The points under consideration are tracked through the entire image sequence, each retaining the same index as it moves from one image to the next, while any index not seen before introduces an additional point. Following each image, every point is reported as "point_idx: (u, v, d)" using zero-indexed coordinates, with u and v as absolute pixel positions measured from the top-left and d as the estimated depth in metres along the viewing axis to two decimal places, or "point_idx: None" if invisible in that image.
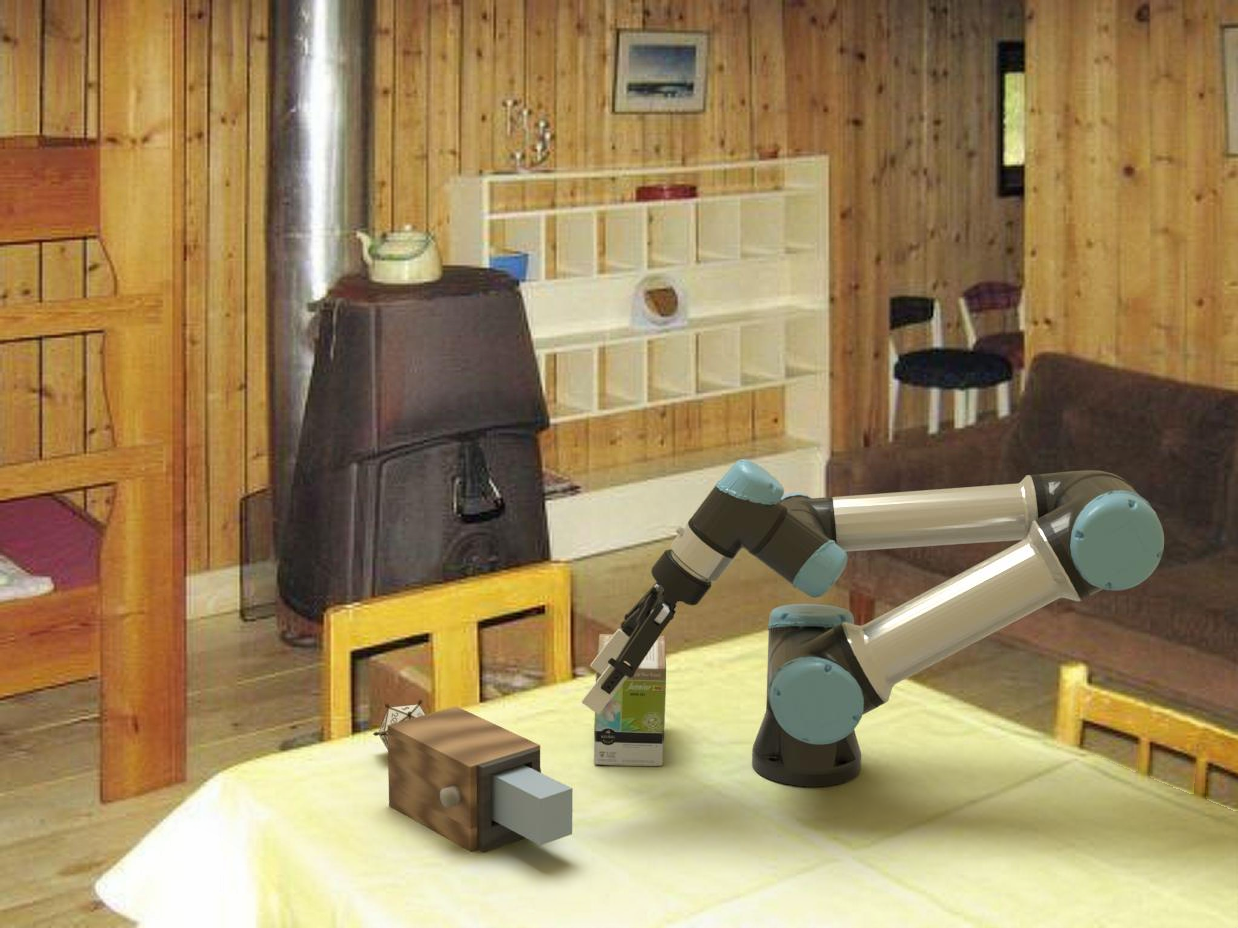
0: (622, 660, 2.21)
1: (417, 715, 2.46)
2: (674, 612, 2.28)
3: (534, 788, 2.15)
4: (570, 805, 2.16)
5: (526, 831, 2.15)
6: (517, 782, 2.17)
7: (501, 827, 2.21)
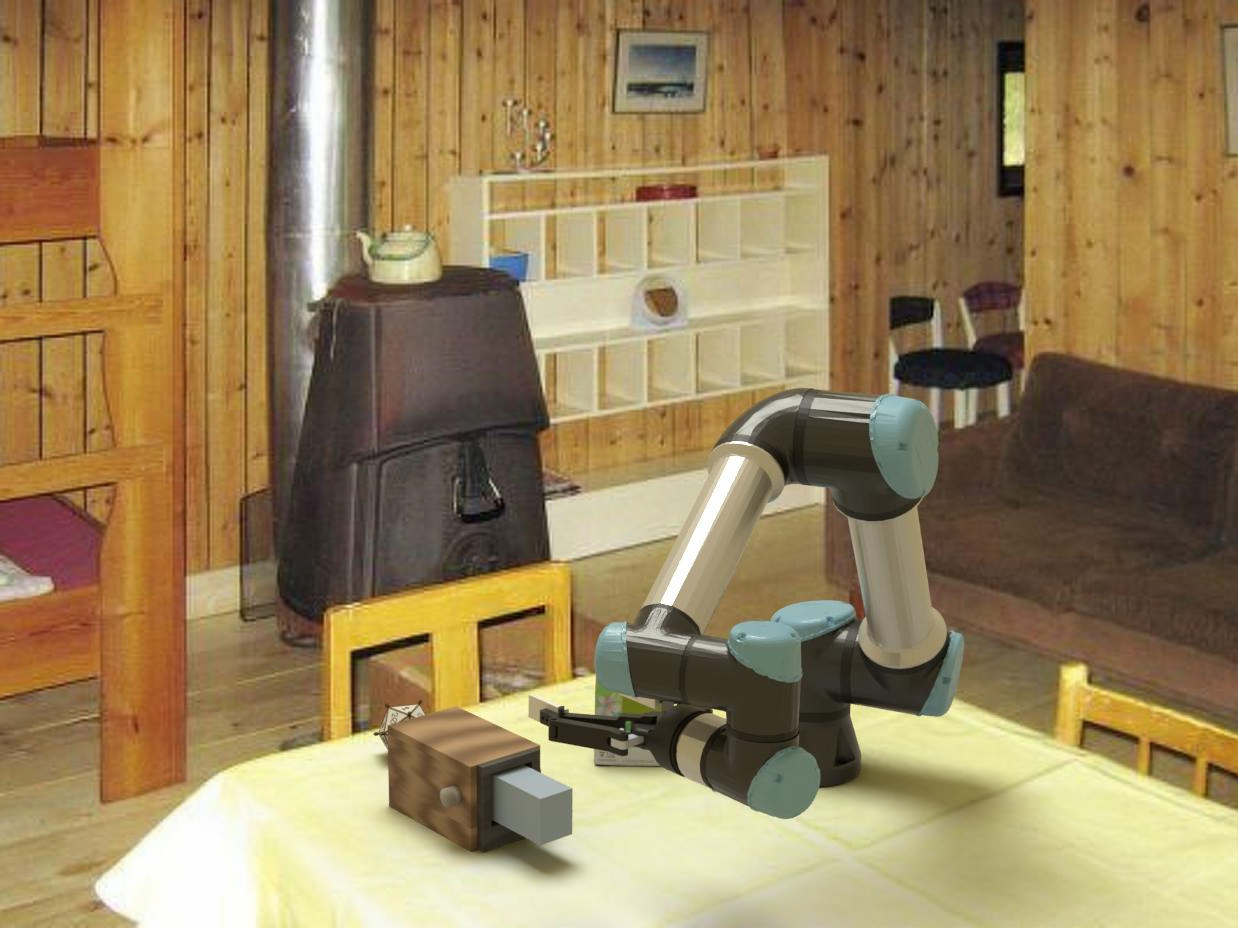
0: None
1: (417, 715, 2.46)
2: None
3: (534, 788, 2.15)
4: (570, 805, 2.16)
5: (526, 831, 2.15)
6: (517, 782, 2.17)
7: (501, 827, 2.21)
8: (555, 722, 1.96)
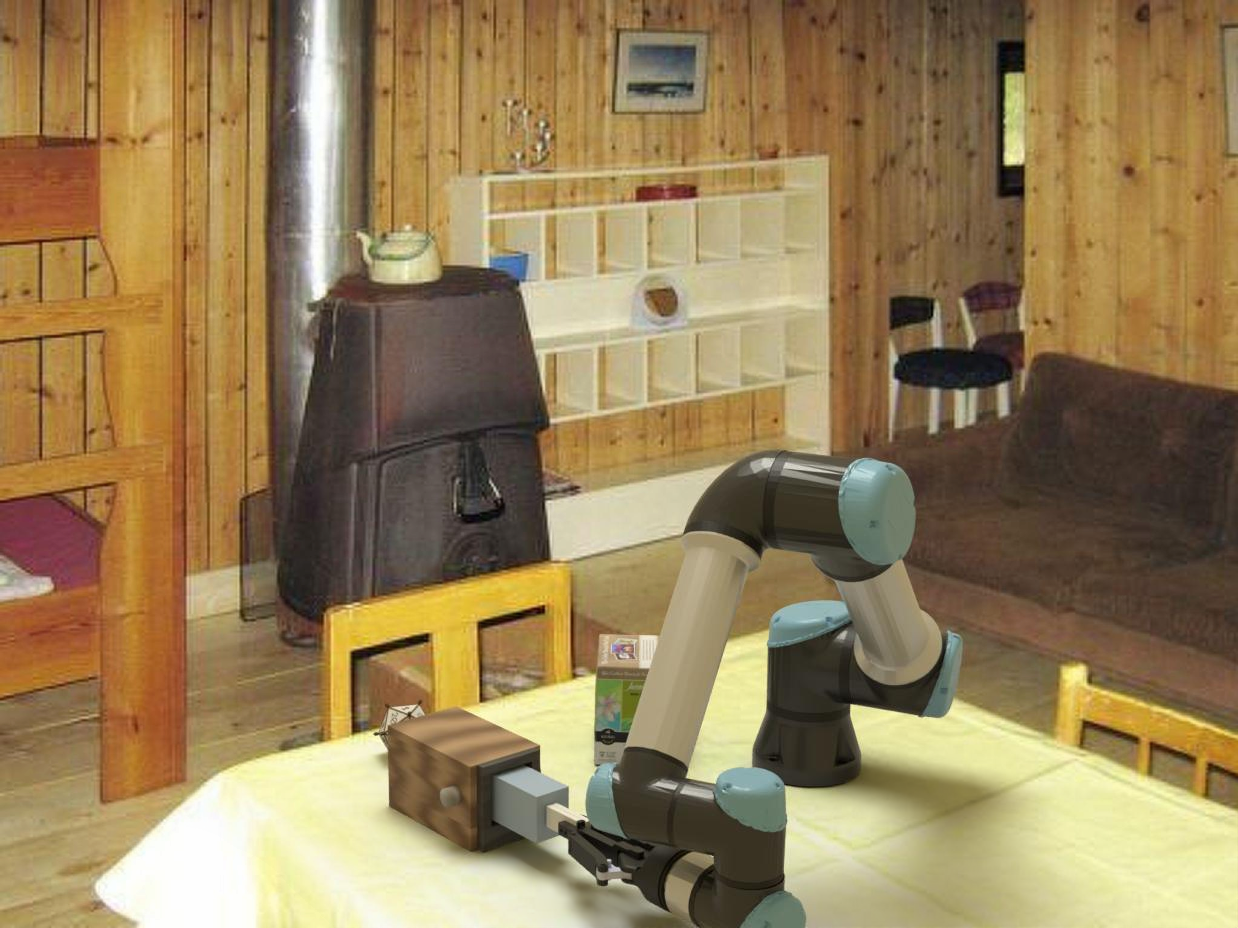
0: None
1: (417, 715, 2.46)
2: None
3: (531, 786, 2.16)
4: (566, 803, 2.16)
5: (522, 829, 2.16)
6: (514, 780, 2.17)
7: (501, 827, 2.21)
8: (570, 837, 2.06)
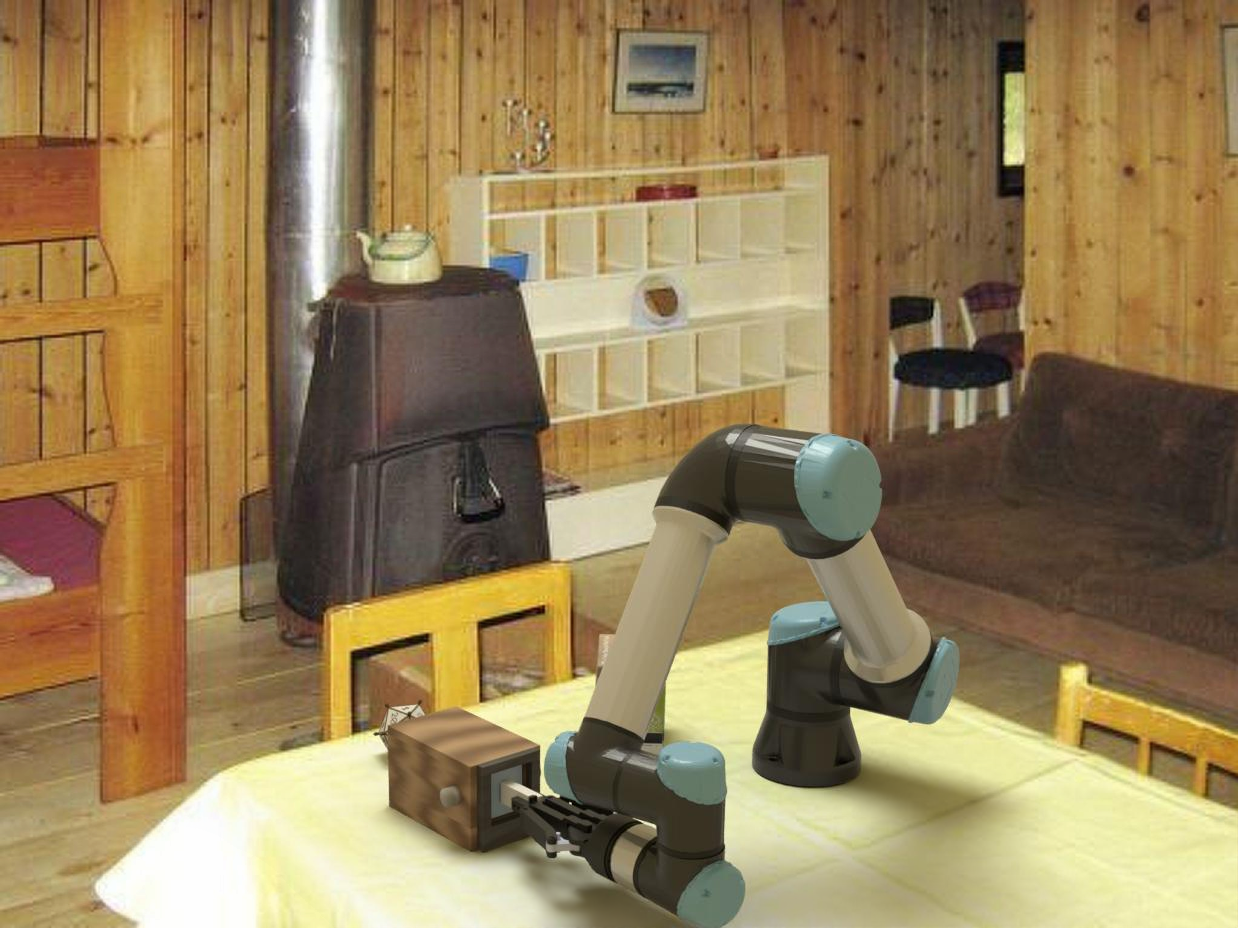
0: None
1: (417, 715, 2.46)
2: None
3: None
4: (519, 780, 2.23)
5: None
6: None
7: (501, 827, 2.21)
8: (522, 811, 2.13)
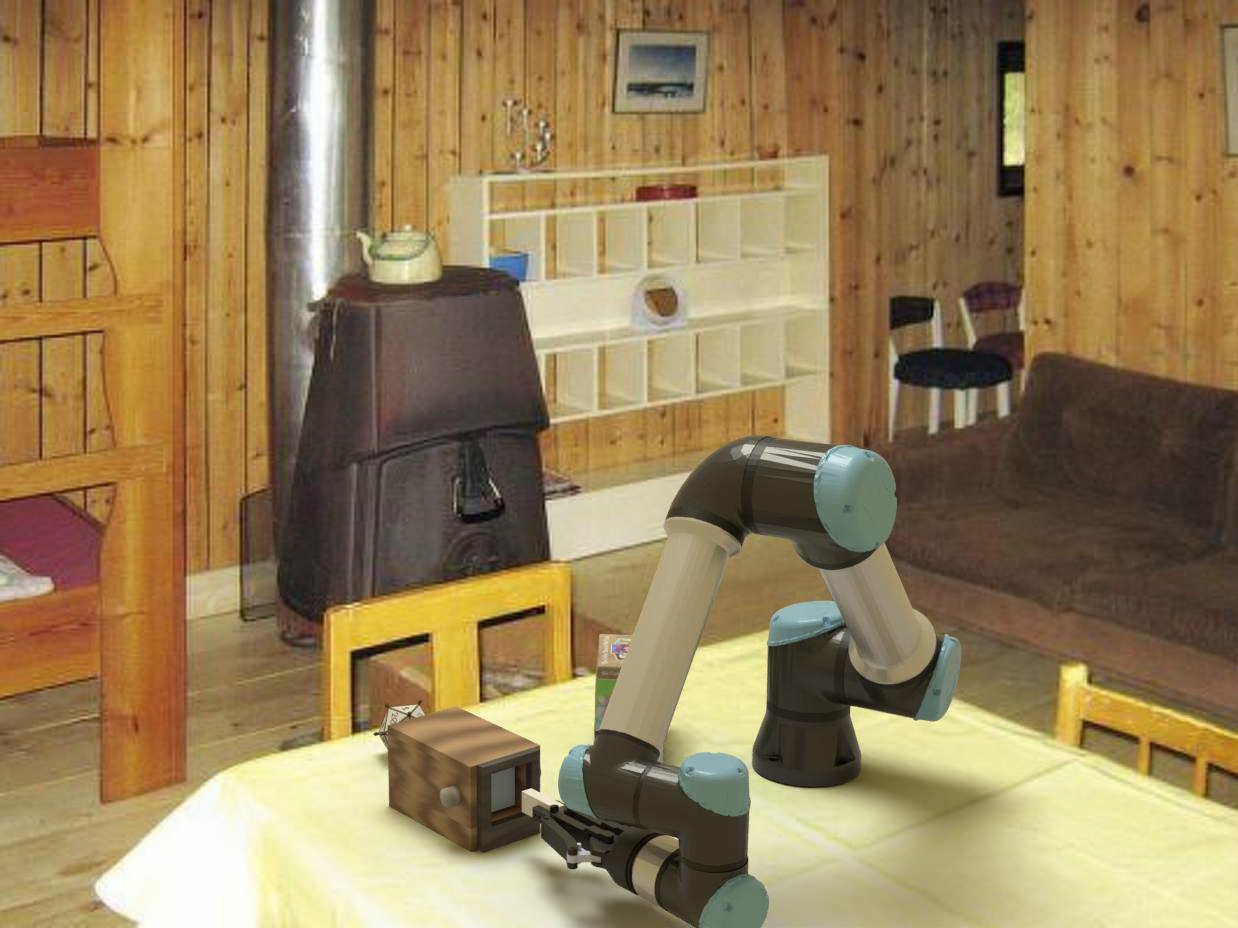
0: None
1: (417, 715, 2.46)
2: None
3: None
4: (512, 776, 2.24)
5: None
6: None
7: (501, 827, 2.21)
8: (543, 821, 2.09)
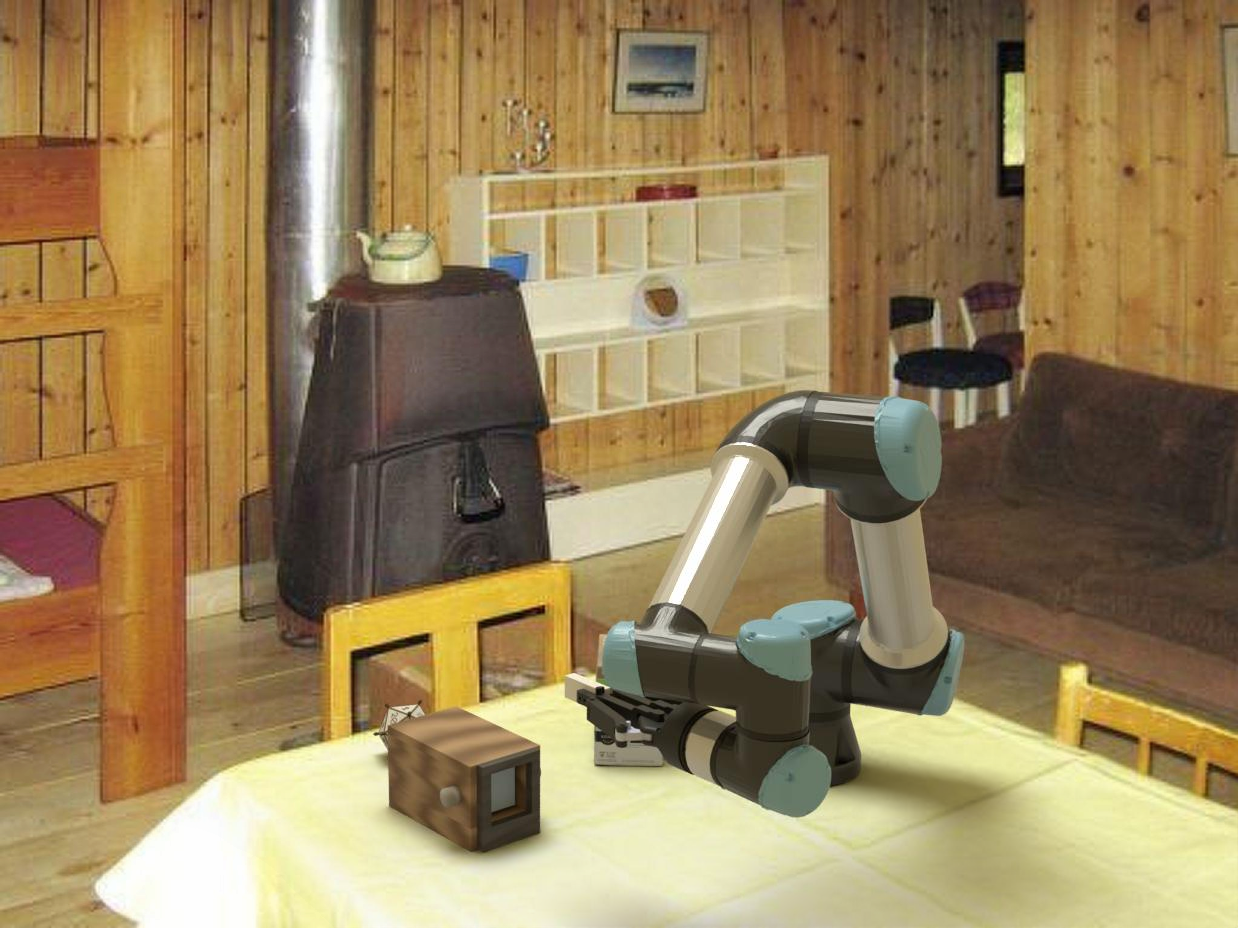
0: None
1: (417, 715, 2.46)
2: None
3: None
4: (512, 776, 2.24)
5: None
6: None
7: (501, 827, 2.21)
8: (589, 702, 2.00)
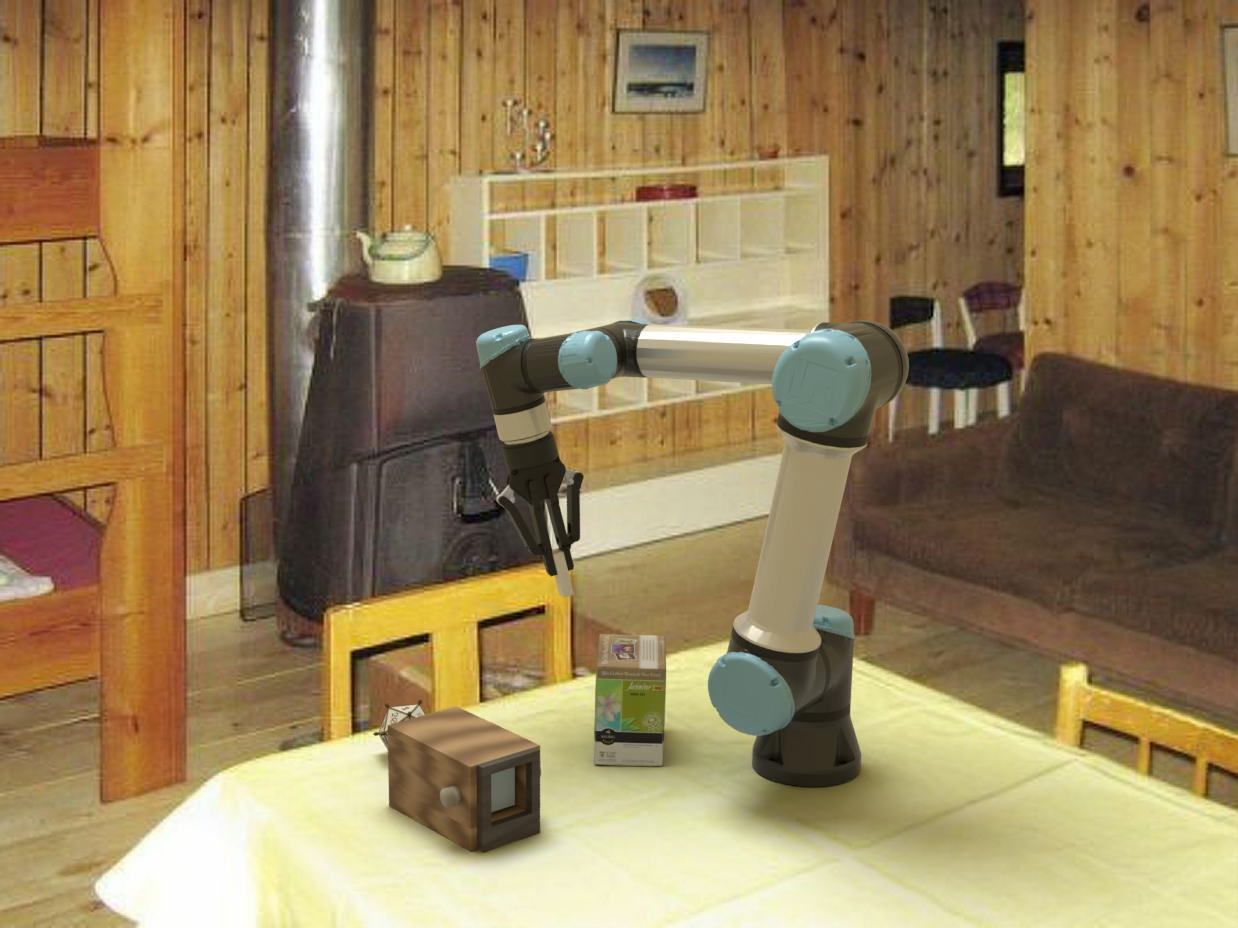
0: None
1: (417, 715, 2.46)
2: (528, 484, 2.46)
3: None
4: (512, 776, 2.24)
5: None
6: None
7: (501, 827, 2.21)
8: (579, 534, 2.50)
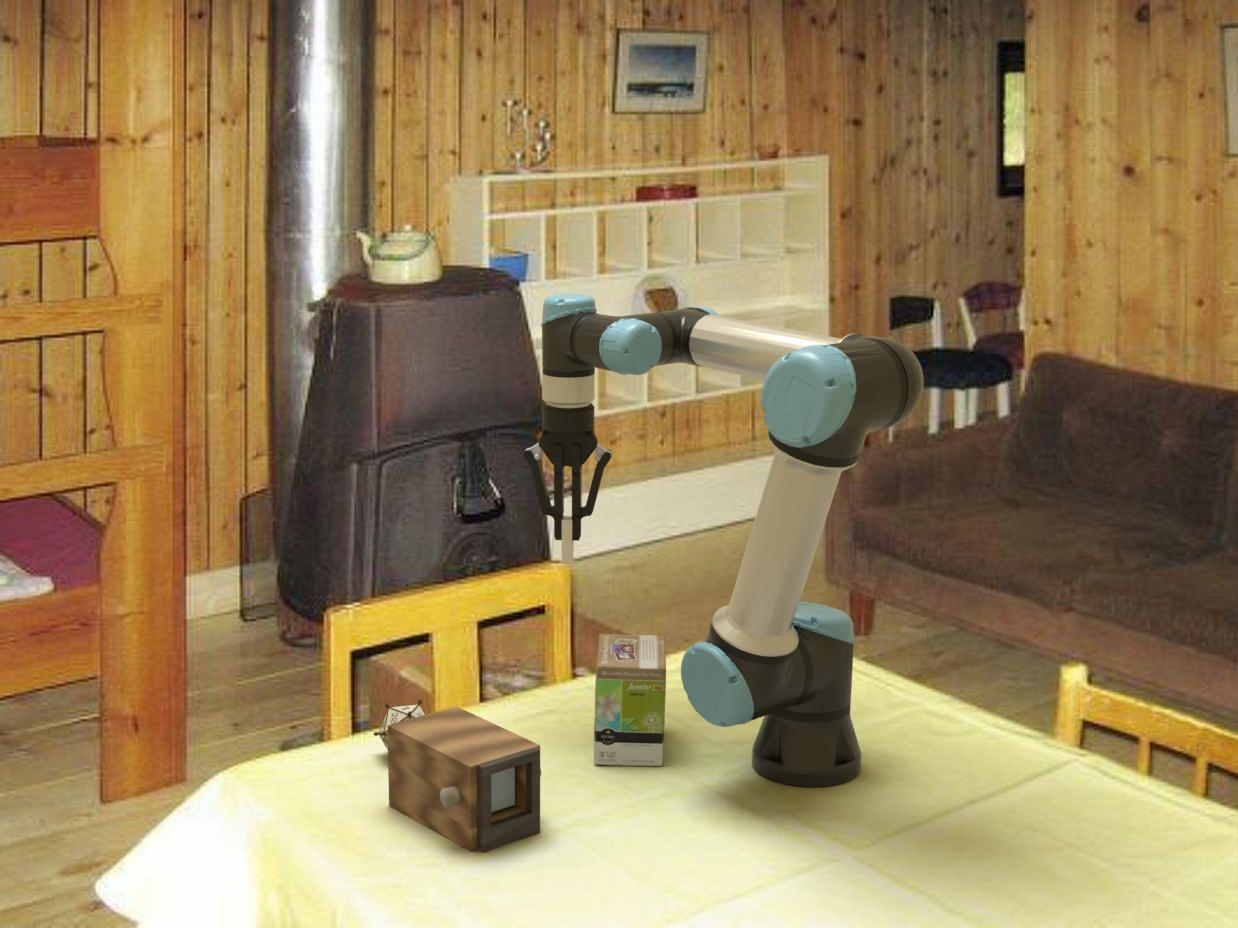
0: None
1: (417, 715, 2.46)
2: (554, 447, 2.53)
3: None
4: (512, 776, 2.24)
5: None
6: None
7: (501, 827, 2.21)
8: (592, 509, 2.56)
